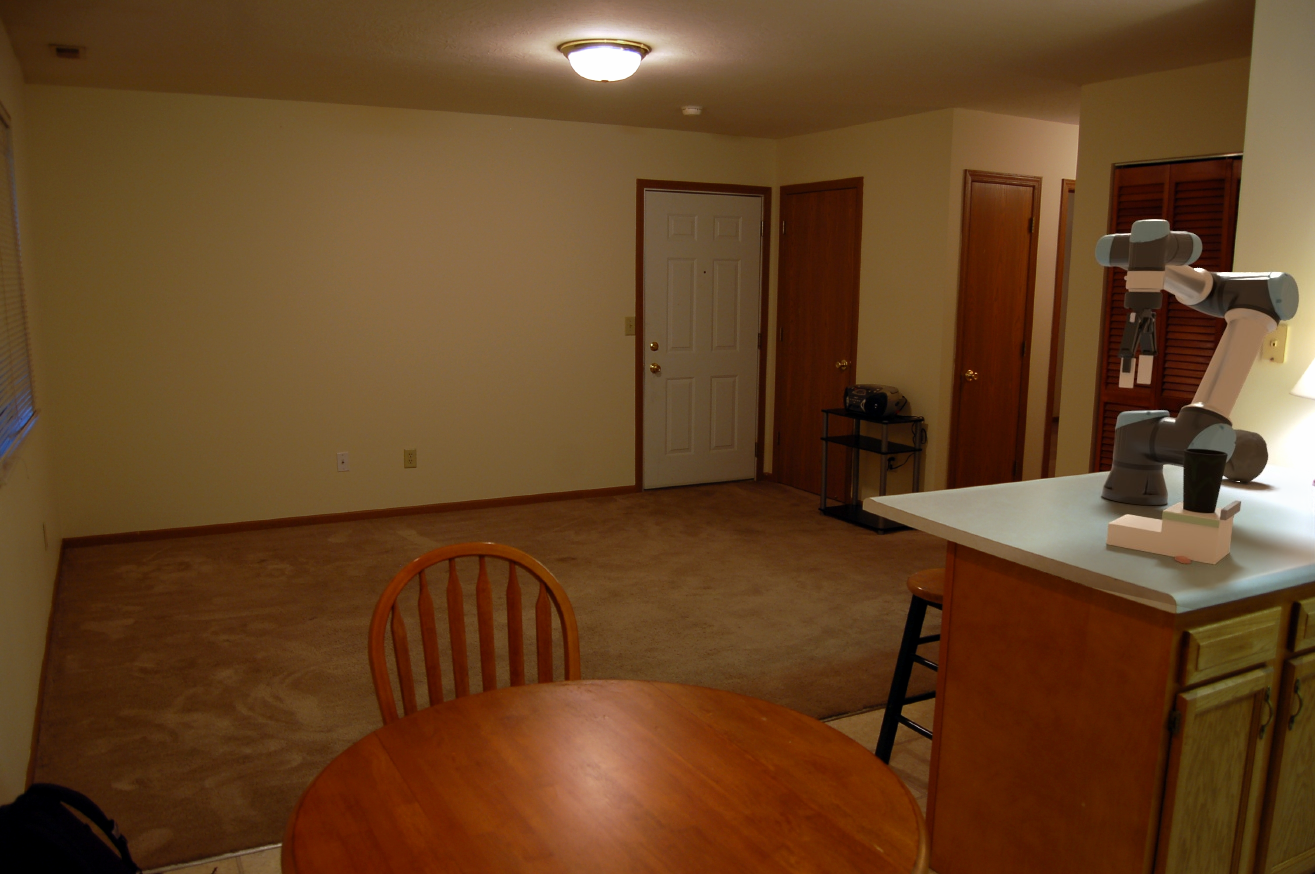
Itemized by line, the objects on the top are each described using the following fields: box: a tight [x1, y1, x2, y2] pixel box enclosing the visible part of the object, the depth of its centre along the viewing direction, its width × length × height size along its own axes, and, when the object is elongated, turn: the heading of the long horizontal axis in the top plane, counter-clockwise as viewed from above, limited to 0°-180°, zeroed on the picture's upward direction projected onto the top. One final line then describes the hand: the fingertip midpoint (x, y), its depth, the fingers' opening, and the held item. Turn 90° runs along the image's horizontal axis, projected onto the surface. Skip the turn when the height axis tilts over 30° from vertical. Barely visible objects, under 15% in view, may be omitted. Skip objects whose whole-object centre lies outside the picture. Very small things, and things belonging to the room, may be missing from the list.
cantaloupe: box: [1223, 428, 1269, 483], centre depth 265 cm, size 14×14×15 cm
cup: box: [1182, 449, 1228, 513], centre depth 186 cm, size 8×8×12 cm
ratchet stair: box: [1106, 499, 1242, 565], centre depth 189 cm, size 16×21×11 cm
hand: (1134, 385), depth 210 cm, fingers open, 13 cm apart
